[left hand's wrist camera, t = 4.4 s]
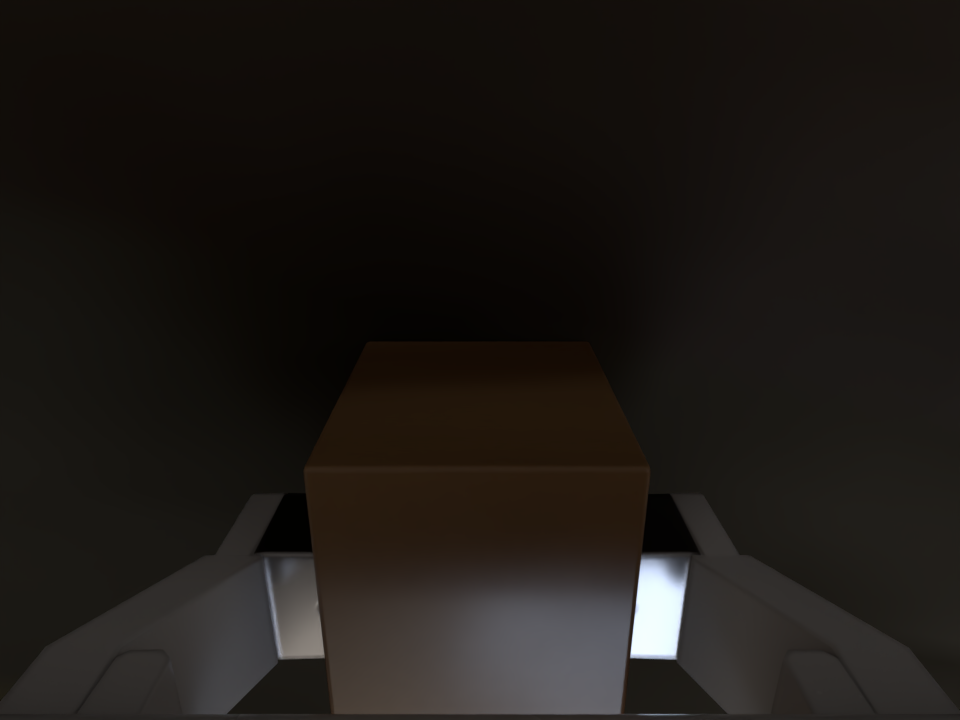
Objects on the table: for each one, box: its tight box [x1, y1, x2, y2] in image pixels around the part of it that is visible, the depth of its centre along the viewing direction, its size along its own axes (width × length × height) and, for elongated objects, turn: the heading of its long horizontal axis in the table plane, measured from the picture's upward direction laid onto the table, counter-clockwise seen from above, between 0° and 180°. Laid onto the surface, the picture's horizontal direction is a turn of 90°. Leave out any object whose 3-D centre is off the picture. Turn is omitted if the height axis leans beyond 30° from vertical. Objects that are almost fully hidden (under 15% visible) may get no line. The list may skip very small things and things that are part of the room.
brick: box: [303, 341, 651, 714], centre depth 10 cm, size 5×4×4 cm
